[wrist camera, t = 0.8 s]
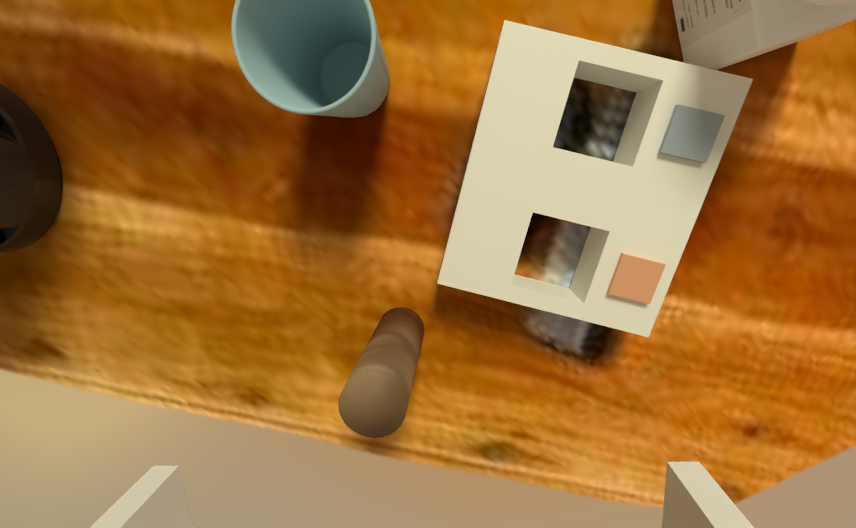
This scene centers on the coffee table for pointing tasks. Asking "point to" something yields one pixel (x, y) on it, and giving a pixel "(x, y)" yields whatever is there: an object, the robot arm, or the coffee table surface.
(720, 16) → the container
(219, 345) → the coffee table surface
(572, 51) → the socket board
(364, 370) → the dowel
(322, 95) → the cup
